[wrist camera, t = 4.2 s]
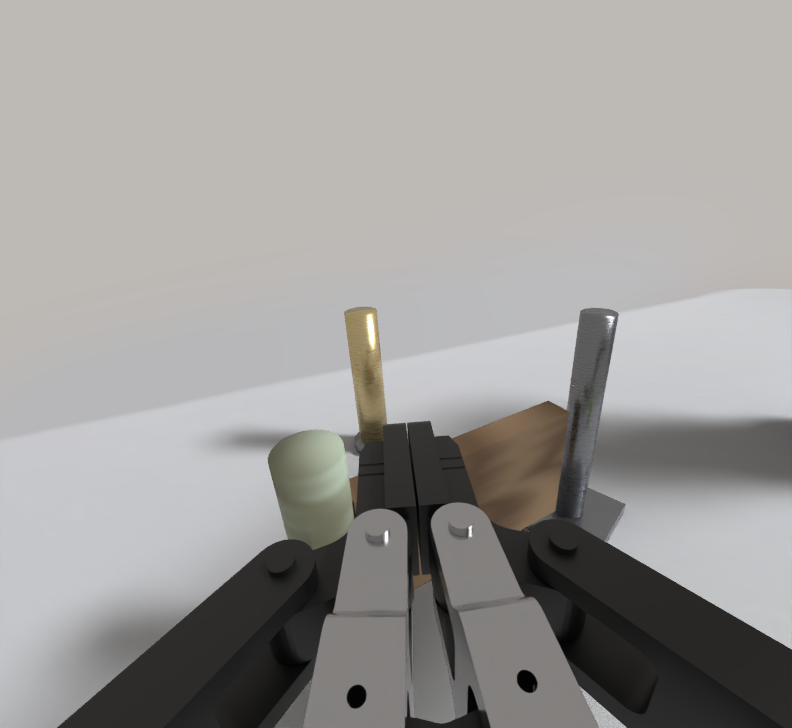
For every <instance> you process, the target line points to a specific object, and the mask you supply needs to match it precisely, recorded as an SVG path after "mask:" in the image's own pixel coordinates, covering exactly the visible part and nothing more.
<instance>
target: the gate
mask: <svg viewBox="0 0 792 728" xmlns="http://www.w3.org/2000/svg"><path fill="white" fill-rule="evenodd" d="M568 417H569V412H568V411H567V410H565V409H563V408H561V407H559V406H557V405H555V404H553V403H552V402H550V401H546V402H544V403H541V404H539V405H536V406H534V407H531V408H529V409H526V410H524V411H521V412H518V413H516V414H513V415H511V416H508V417H506V418H503V419H501V420H498V421H496V422H493V423H491V424H488V425H485V426H483V427H480V428H478V429H475V430H473V431H470V432H468V433H465V434H463V435H460V436H457V437H455V438H452V439H453V440H454V441H455V442H456V443H457V444H458V445H459V448H460V452H461V455H462V459H463V461H464V464H465V468H466V470H467V473H468V476H469V479H470V482H471V485H472V488H473V491H474V494H475V497H476V500H477V504H478V506H479V509H481V510H482V511H483V512H484V513H485V514H486V515H487V516H488V518H489V520H490V521H492V522H494V523H495V524H497V525H499V526H502V527H505V528H508V529H513V530H518V531H520V530H522V529H524V528H526V527H527V526H529V525H531V524H533V523H535V522H536V521H538V520H540V519H542V518H544V517H545V516H547V515H549V514H551V513H553V512H554V511H555V510H556V503H557V496H558V488H559V481H560V474H561V467H562V460H563V453H564V445H565V438H566V431H567V424H568ZM268 464H269V468H270V472H271V476H272V480H273V484H274V487H275V491H276V495H277V499H278V503H279V507H280V511H281V515H282V518H283V522H284V526H285V530H286V534H287V538H288V539H295V540H300V541H303V542H305V543H307V544H308V545H309V546H310V547H311V548H312V550H315V549H317V548H320V547H323V546H325V545H328V544H331V543H333V542H335V541H337V540H338V539H340V538H341V537H343V536H344V535H345V534H346V533H347V532H348V530H349V527H350V525H351V523H352V522H353V520H354V519H355V516H356V502H357V487H358V476H356V477H353V478H351V479H349V475H348V469H347V462H346V455H345V449H344V443H343V441H342V439H341V438H340V437H339V436H338V435H337V434H335V433H333V432H330V431H325V430H309V431H303V432H299V433H296V434H293V435H291V436H289V437H287V438H285V439H283V440H282V441H280V442H279V443H278V444H277V445H276V446H274V448H273V449H272V450H271V452H270V454H269V456H268ZM418 553H419V572H420V575H417V576H413V582H414V589H416V588H418V587H419V586H421V585H423V584H425V583H427V582H428V581H430V580H432V579H431V574H427V575H422V569H421V560H420V552H419V544H418Z"/></svg>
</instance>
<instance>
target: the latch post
mask: <svg viewBox="0 0 792 728" xmlns="http://www.w3.org/2000/svg"><path fill="white" fill-rule="evenodd" d="M344 315H345V322H346V330H347V338H348V346H349V353H350V361H351V369H352V377H353V384H354V392H355V400H356V408H357V415H358V423H359V431H360V432H359V433H358V434H357V435H356V436H355V446H356V450H357V451H358V452H359V453H360V452H361V450H362V449H363V447H364V446H365V444H366V443H367V442H374V441H383V425H386V424H387V417H386V407H385V396H384V385H383V374H382V364H381V353H380V343H379V331H378V321H377V310H376V309H375V308H372V307H357V308H352V309H349V310H347V311H345V312H344Z"/></svg>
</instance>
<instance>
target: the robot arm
mask: <svg viewBox="0 0 792 728" xmlns="http://www.w3.org/2000/svg"><path fill="white" fill-rule="evenodd" d="M407 427H408V438H407V430H406V423H399V424H386V425H383V441H374V442H367V443H366V444H365V446H364V447H363V449H362V450H361V452H360V457H359V472H358V487H357V502H356V516H355V519H354V520H353V522H352V523H351V525H350V527H349V530H348V532H347V533H346V534H345V535H344V536H343V537H341V538H340V539H338V540H337V541H335V542H333V543H331V544H328V545H325V546H323V547H320V548H317V549H315V550H312V548H311V547H310V546H309V545H308V544H307V543H305V542H303V541H300V540H295V539H288V540H282V541H279V542H276V543H274V544H272V545H270V546H268V547H267V548H265V549H264V550H263V551H262V552H260V553H259V554H258V555H257V556H256V557H255V558H253V559H252V560H251V561H250V562H249V563H248V564H247V565H245V566H244V567H243V568H242V569H241V570H240V571H238V572H237V573H236V574H235V575H234V576H233V577H231V578H230V579H229V580H228V581H227V582H226V583H224V584H223V585H222V586H221V587H220V588H219V589H218V590H216V591H215V592H214V593H213V594H212V595H211V596H209V597H208V598H207V599H206V600H205V601H204V602H202V603H201V604H200V605H199V606H198V607H197V608H195V609H194V610H193V611H192V612H191V613H190V614H189V615H187V616H186V617H185V618H184V619H183V620H182V621H180V622H179V623H178V624H177V625H176V626H175V627H173V628H172V629H171V630H170V631H169V632H168V633H166V634H165V635H164V636H163V637H162V638H161V639H160V640H158V641H157V642H156V643H155V644H154V645H153V646H151V647H150V648H149V649H148V650H147V651H146V652H144V653H143V654H142V655H141V656H140V657H139V658H137V659H136V660H135V661H134V662H133V663H132V664H131V665H129V666H128V667H127V668H126V669H125V670H124V671H122V672H121V673H120V674H119V675H118V676H117V677H115V678H114V679H113V680H112V681H111V682H110V683H108V684H107V685H106V686H105V687H104V688H103V689H102V690H100V691H99V692H98V693H97V694H96V695H95V696H93V697H92V698H91V699H90V700H89V701H88V702H86V703H85V704H84V705H83V706H82V707H81V708H79V709H78V710H77V711H76V712H75V713H74V714H73V715H71V716H70V717H69V718H68V719H67V720H66V721H64V722H63V723H62V724H61V725H60V726H59V727H57V728H274V726H275V725H276V724H277V723H278V721H279V720H280V719H281V717H282V716H283V715H284V713H285V712H286V711H287V710H288V708H289V707H290V706H291V704H292V703H293V702H294V700H295V699H296V698H297V697H298V695H299V694H300V693H301V691H302V690H303V689H304V687H305V686H306V685H307V684H308V682H309V681H310V680H311V678H312V677H313V678H312V683H311V688H310V693H309V698H308V703H307V708H306V713H305V718H304V723H303V728H599V727H598V725H597V722H596V720H595V718H594V716H593V714H592V712H591V710H590V708H589V706H588V704H587V702H586V699H585V697H584V695H583V693H582V691H581V689H580V687H581V688H582V689H584V690H585V691H586V692H587V693H588V694H589V695H590V696H592V697H593V698H594V699H595V700H596V701H597V702H598V703H600V704H601V705H602V706H603V707H604V708H605V709H606V710H608V711H609V712H610V713H611V714H612V715H613V716H614V717H616V718H617V719H618V720H619V721H620V722H621V723H622V724H624V725H625V726H626V727H627V728H792V650H791V649H790V648H788V647H786V646H785V645H783V644H781V643H779V642H778V641H776V640H774V639H772V638H771V637H769V636H767V635H765V634H764V633H762V632H760V631H759V630H757V629H755V628H753V627H752V626H750V625H748V624H746V623H745V622H743V621H741V620H740V619H738V618H736V617H734V616H733V615H731V614H729V613H727V612H726V611H724V610H722V609H721V608H719V607H717V606H715V605H714V604H712V603H710V602H708V601H707V600H705V599H703V598H702V597H700V596H698V595H696V594H695V593H693V592H691V591H689V590H688V589H686V588H684V587H683V586H681V585H679V584H677V583H676V582H674V581H672V580H670V579H669V578H667V577H665V576H664V575H662V574H660V573H658V572H657V571H655V570H653V569H651V568H650V567H648V566H646V565H644V564H643V563H641V562H639V561H638V560H636V559H634V558H632V557H631V556H629V555H627V554H625V553H624V552H622V551H620V550H619V549H617V548H615V547H613V546H612V545H610V544H608V543H606V542H605V541H603V540H601V539H600V538H598V537H596V536H594V535H593V534H591V533H589V532H587V531H586V530H584V529H582V528H581V527H579V526H577V525H575V524H573V523H570V522H568V521H564V520H558V519H548V520H543V521H540V522H538V523H537V524H535V525H534V526H533V528H532V529H531V531H530V533H529V532H524V531H518V530H513V529H508V528H505V527H502V526H499V525H497V524H495V523H494V522H492V521H490V520H489V518H488V516H487V515H486V514H485V513H484V512H483V511H482V510H481V509H479V506H478V504H477V500H476V497H475V494H474V491H473V488H472V485H471V482H470V479H469V476H468V473H467V470H466V468H465V464H464V461H463V459H462V455H461V452H460V448H459V445H458V444H457V443H456V442H455V441H454V440H453V439H451V438H450V437H449V436H437V437H434V434H433V430H432V426H431V422H430V421H424V422H411V423H407ZM408 445H409V446H408ZM418 544H419V552H420V560H421V569H422V575H427V574H431V579H432V586H433V603H434V610H435V614H436V619H437V623H438V628H439V633H440V637H441V642H442V647H443V651H444V656H445V660H446V665H447V670H448V674H449V679H450V684H451V688H452V694H453V700H454V708H455V716H456V719H455V720H453V721H451V722H448V723H443V724H440V723H434V722H430V721H426V720H422V719H418V718H414V698H413V610H412V604H413V600H414V582H413V576H417V575H420V572H419V553H418ZM579 686H580V687H579Z"/></svg>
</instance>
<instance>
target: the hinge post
mask: <svg viewBox="0 0 792 728" xmlns="http://www.w3.org/2000/svg"><path fill="white" fill-rule="evenodd" d="M618 315H619V314H618V313H617V312H615V311H613V310H609V309H601V308H588V309H584V310H581V311H580V319H579V325H578V332H577V340H576V347H575V355H574V362H573V369H572V377H571V384H570V391H569V399H568V406H567V411H568V412H569V417H568V424H567V431H566V438H565V445H564V453H563V460H562V467H561V474H560V481H559V488H558V496H557V503H556V510H555V511H554V512H553V513H551V514H549V515H547V516H545V517H544V518H542V519H540V520H538V521H536V522H535V523H533V524H531V525H529V526H527V528H528V529H530V530H531V529H532V528H533V526H534V525H535V524H537V523H538V522H540V521H543V520H548V519H558V520H564V521H568V522H570V523H573V524H575V525H577V526H579V527H581V528H582V529H584V530H586V531H587V532H589V533H591V534H593V535H594V536H596V537H598V538H600V539H601V540H603V541H605V542H606V543H607V541H608V539H609V537H610V536H611V534H612V532H613V530H614V528H615V527H616V525H617V523H618V521H619V519H620V518H621V516H622V514H623V512H624V508H625V504H624V503H621V502H619V501H617V500H614V499H612V498H610V497H608V496H605V495H603V494H601V493H599V492H596V491H594V490H592V489H590V488H587V487H588V482H589V476H590V470H591V465H592V459H593V454H594V448H595V443H596V437H597V431H598V426H599V420H600V415H601V409H602V404H603V398H604V392H605V387H606V381H607V376H608V370H609V365H610V359H611V354H612V348H613V342H614V337H615V331H616V326H617V320H618Z"/></svg>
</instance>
